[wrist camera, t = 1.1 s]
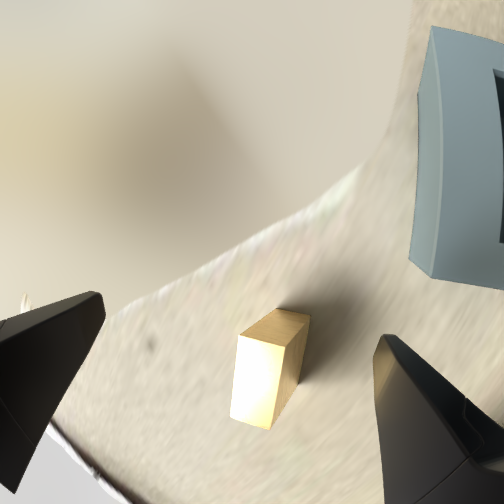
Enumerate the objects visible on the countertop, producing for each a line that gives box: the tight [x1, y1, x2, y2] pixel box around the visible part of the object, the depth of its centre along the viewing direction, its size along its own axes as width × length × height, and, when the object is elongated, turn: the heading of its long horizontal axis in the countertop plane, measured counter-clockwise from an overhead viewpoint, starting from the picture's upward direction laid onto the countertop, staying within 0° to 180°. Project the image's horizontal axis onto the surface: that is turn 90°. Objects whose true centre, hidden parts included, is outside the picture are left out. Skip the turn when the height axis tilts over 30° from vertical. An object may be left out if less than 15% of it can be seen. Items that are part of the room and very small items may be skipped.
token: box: [230, 308, 311, 430], centre depth 18 cm, size 6×2×6 cm, turn 174°
